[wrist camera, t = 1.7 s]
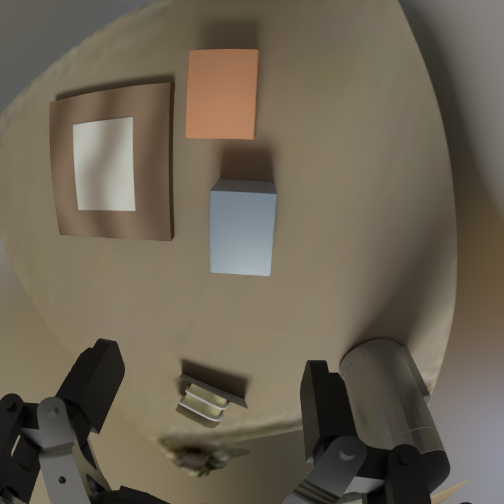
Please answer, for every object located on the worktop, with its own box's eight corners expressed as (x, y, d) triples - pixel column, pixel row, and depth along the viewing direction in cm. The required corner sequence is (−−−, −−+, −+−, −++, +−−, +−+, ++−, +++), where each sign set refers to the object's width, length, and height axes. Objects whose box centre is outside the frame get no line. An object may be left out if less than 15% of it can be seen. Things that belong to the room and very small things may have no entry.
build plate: (174, 83, 22) (170, 82, 21) (174, 236, 29) (170, 241, 27) (56, 102, 22) (49, 102, 21) (65, 231, 29) (59, 235, 27)
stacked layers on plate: (186, 366, 43) (172, 394, 41) (179, 376, 34) (162, 409, 33) (242, 393, 43) (227, 420, 41) (248, 408, 34) (230, 440, 33)
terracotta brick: (259, 63, 21) (258, 49, 17) (255, 136, 24) (253, 139, 20) (203, 63, 21) (189, 50, 17) (199, 135, 24) (185, 138, 20)
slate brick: (274, 181, 26) (276, 194, 22) (268, 250, 29) (269, 275, 24) (219, 178, 26) (210, 190, 22) (218, 247, 29) (210, 272, 25)
